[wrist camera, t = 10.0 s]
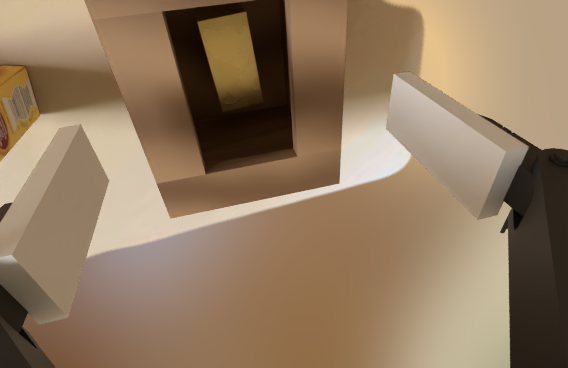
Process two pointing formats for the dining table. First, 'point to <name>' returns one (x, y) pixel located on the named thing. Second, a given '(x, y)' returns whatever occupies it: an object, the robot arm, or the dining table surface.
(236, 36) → the wooden block
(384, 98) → the dining table surface
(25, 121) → the candy box
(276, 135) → the box
